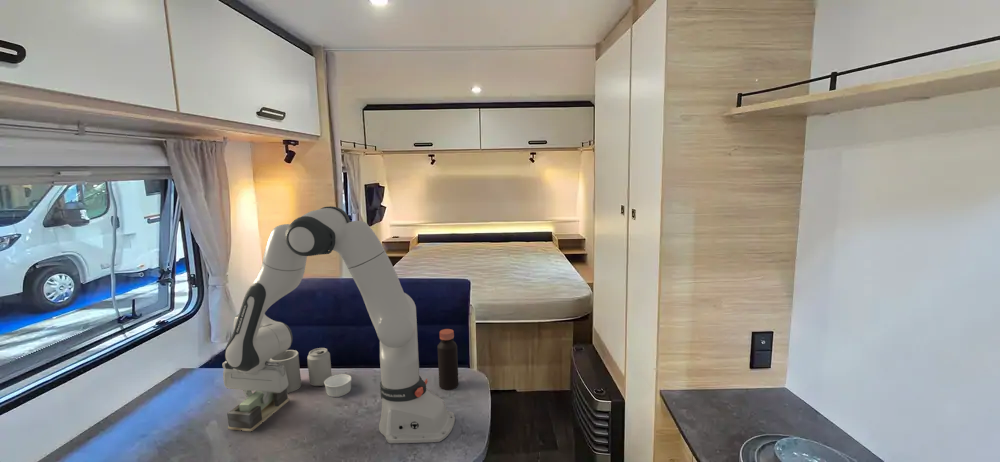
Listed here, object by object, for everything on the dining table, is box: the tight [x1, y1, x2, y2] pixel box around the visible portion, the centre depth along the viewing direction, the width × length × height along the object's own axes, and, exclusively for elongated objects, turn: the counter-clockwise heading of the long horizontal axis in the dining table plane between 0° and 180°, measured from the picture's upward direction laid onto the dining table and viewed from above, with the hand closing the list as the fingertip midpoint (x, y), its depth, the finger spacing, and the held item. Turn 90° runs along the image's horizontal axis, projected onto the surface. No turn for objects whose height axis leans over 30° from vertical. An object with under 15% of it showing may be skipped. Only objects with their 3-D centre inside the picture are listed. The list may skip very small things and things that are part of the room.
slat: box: [238, 391, 275, 413], centre depth 136 cm, size 3×13×5 cm, turn 175°
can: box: [306, 347, 333, 387], centre depth 156 cm, size 8×8×12 cm
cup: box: [270, 349, 302, 394], centre depth 152 cm, size 9×9×12 cm
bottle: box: [437, 328, 459, 391], centre depth 150 cm, size 7×7×20 cm
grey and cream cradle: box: [226, 388, 290, 432], centre depth 136 cm, size 8×17×5 cm, turn 170°
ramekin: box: [323, 373, 352, 398], centre depth 150 cm, size 9×9×4 cm
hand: (258, 402), depth 136 cm, fingers closed on slat, 3 cm apart
